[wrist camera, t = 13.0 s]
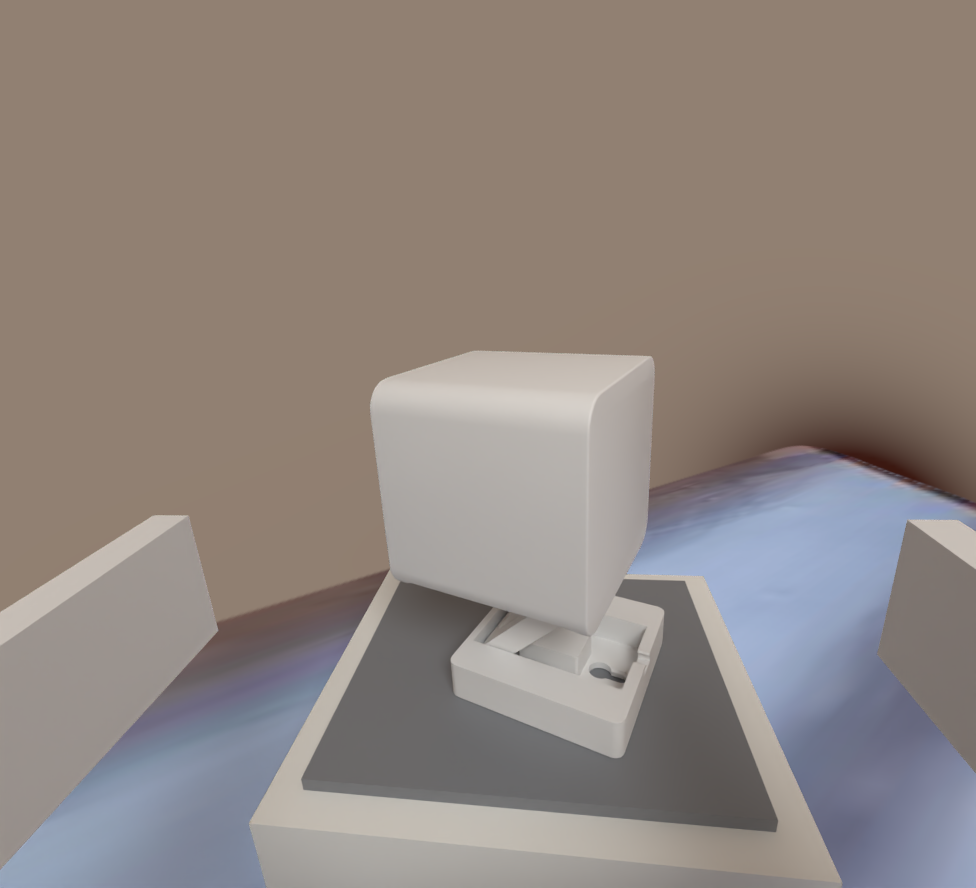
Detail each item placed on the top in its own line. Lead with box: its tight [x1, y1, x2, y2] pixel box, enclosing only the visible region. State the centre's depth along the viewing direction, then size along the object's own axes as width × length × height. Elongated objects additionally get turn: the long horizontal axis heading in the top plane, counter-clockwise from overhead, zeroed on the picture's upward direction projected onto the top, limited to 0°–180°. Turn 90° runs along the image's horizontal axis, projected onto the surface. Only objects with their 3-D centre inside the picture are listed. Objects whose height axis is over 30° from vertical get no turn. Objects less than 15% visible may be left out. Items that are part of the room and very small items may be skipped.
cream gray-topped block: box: [249, 569, 842, 888], centre depth 19 cm, size 14×12×5 cm
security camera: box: [370, 351, 664, 758], centre depth 16 cm, size 6×7×10 cm
